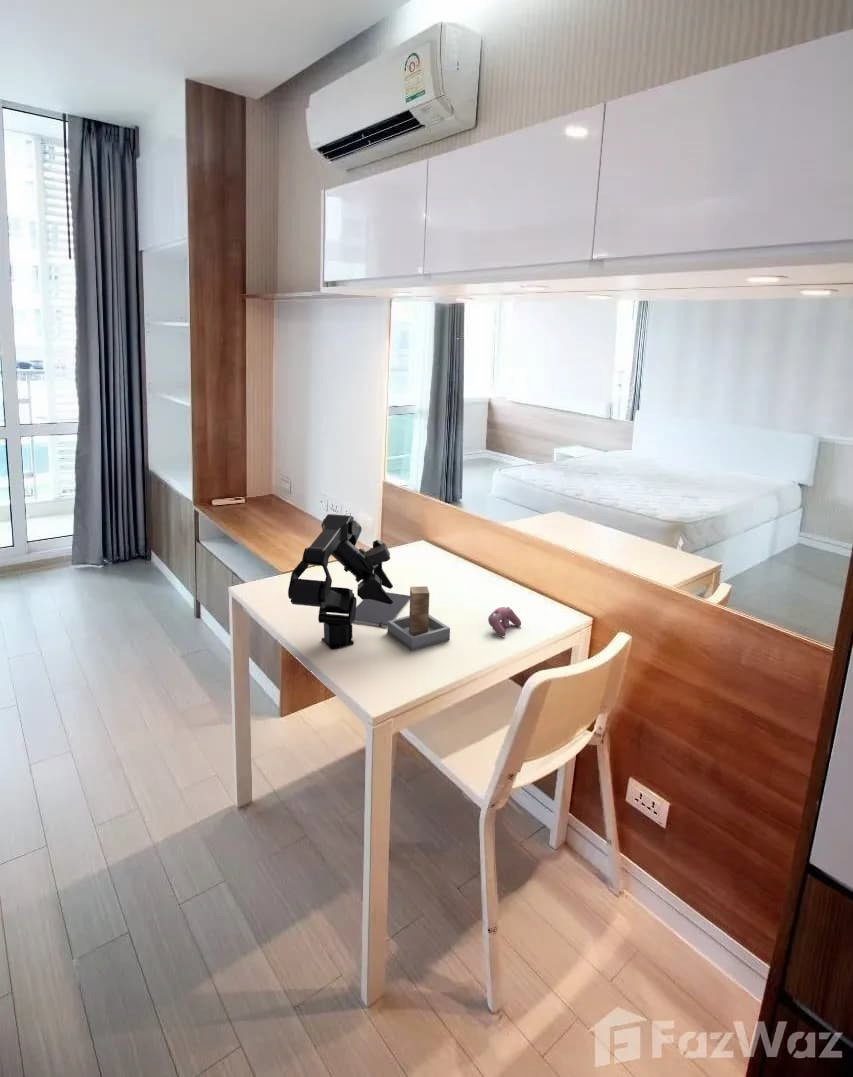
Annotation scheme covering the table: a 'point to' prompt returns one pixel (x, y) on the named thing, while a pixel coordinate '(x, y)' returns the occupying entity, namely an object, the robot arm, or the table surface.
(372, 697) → the table surface
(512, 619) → the video game controller
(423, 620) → the walnut handle block
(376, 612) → the notebook
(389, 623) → the tray
